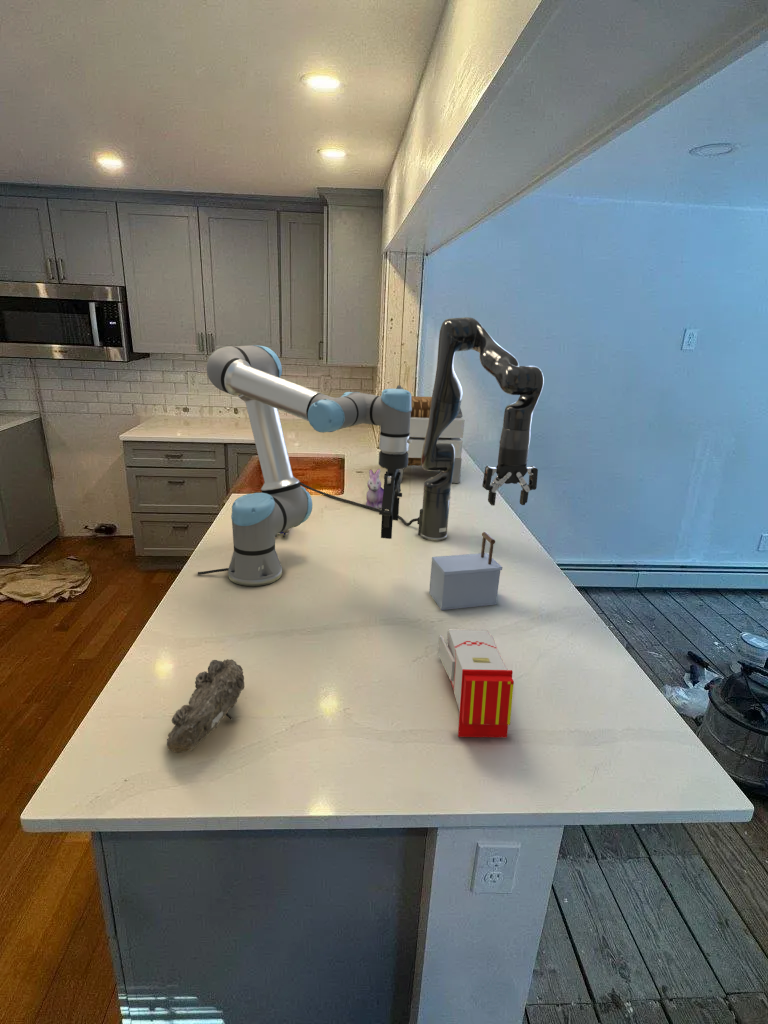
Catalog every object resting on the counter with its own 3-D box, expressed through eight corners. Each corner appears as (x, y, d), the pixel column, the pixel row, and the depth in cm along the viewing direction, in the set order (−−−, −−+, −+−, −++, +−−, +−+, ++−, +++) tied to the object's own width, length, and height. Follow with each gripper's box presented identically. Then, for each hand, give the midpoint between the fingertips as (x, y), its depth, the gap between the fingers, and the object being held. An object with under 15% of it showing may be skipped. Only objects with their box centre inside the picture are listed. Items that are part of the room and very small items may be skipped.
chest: (481, 588, 163) (484, 555, 160) (496, 604, 155) (500, 570, 151) (429, 593, 159) (431, 559, 156) (441, 610, 150) (444, 575, 147)
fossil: (192, 660, 117) (244, 628, 112) (224, 691, 120) (276, 661, 115) (142, 746, 98) (202, 712, 93) (182, 779, 101) (242, 748, 96)
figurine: (370, 511, 220) (372, 474, 215) (359, 503, 229) (360, 467, 224) (392, 508, 224) (394, 471, 219) (380, 500, 233) (381, 465, 228)
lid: (486, 555, 160) (489, 528, 157) (502, 570, 151) (505, 541, 148) (431, 559, 156) (433, 531, 153) (444, 575, 147) (447, 546, 144)
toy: (488, 613, 130) (523, 677, 101) (484, 667, 133) (517, 744, 104) (435, 612, 130) (455, 676, 101) (432, 666, 133) (451, 743, 103)
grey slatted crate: (382, 463, 289) (386, 382, 275) (445, 464, 293) (451, 384, 279) (390, 482, 257) (394, 392, 243) (460, 483, 261) (468, 394, 247)
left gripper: (402, 464, 133) (398, 547, 140) (413, 441, 156) (408, 514, 163) (371, 462, 133) (368, 544, 141) (386, 439, 157) (382, 511, 164)
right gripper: (493, 448, 142) (486, 509, 147) (546, 448, 144) (537, 508, 150) (483, 441, 149) (477, 500, 154) (534, 442, 151) (526, 499, 157)
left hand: (389, 528), depth 152 cm, fingers open, 13 cm apart
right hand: (507, 504), depth 152 cm, fingers open, 8 cm apart
